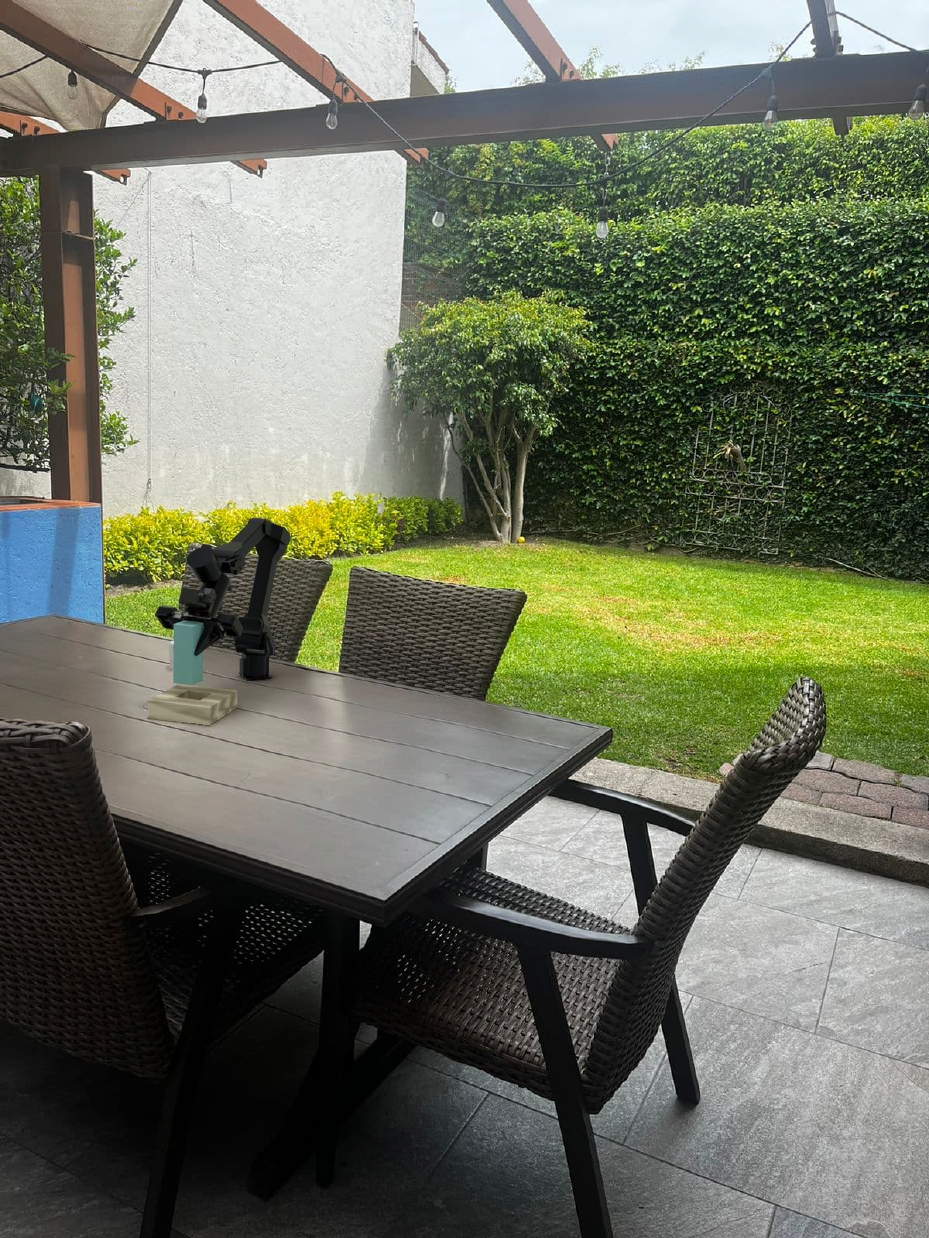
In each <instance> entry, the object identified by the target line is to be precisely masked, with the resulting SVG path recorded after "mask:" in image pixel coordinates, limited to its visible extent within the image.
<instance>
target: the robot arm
mask: <svg viewBox="0 0 929 1238" xmlns="http://www.w3.org/2000/svg"><path fill="white" fill-rule="evenodd" d="M290 542H291V533H290V532H289V531H288V529H287V528H286V527H285V526H281V525H279V524H276V523H274V522H272V521H271V520H270V519H268V518H262V517H251V518H249V519H248V520H247V524H245V526H244V527H243V528H242V529H241V530H240V531H239V532H238V533H236V535H234V537H233V538H232V539H231V540H230V541H228V542H226V543H222V544H218V545H217V546H216V547H212V546H211V544H206V543H205V544H203V543H202V544H201V546H200V547H199V548H195V549H194V550H192V551H191V552H190V553H188V554H187V557H186V563H187V565H188V567H189V568H190V570H191V572H192V574H193V575H194V577H195V578H196V580H197V581H198V582H200V583H201V584H200V586H199V588H198V589H197V588H196V589H195V588H186V587H182V588H180V589H181V590H180V592H179V597H178V603H179V604H182V605H184V607H183V609H184V611H185V612H187V614H185V613H183V612H181V611H179V609H178V608H177V607H176V606H170V605H169V606H168V605H159V606H158V607H157V608H156V610H155V613H154V616H155V618H156V619H157V620H158V622H159V623H160V625H161V626H162V628H163V629H166V630H170V631H174V624H176V623H179V622H182V621H184V620H185V621H193V622H201V623H203V633H202V635H201V637H200V639H199V641H198V644H197V646H196V649H195V652H194V655H195V656H198V655H199V654H200V653H202V652H203V653H204V651H206V650H207V649H208V648H209V647H210V646H212V645H213V644H215V643H216V642H218V641H219V640H224V639H225V638H226V635H227V637H229V638H233V641H234V644H235V645H234V646H235V652H236V654H237V653H238V654H239V653H240V654H241V658H239V667H238V668H239V672H238V675H239V674H240V675H241V676H240V675H239V676H240V677H242V676H243V677H242V678H244V679H245V678H246V679H245V680H247V679H248V680H247V681H252V680H251V679H256V680H259V679H258V678H266V679H272V678H271V677H273V675H271V674H270V656H274V655H275V653H276V647H277V644H276V642H275V640H274V638H273V637H272V635H271V633H272V632H271V629H272V627H271V625H270V622H269V619H268V612H269V607H270V602H271V596H272V591H273V586H274V581H275V576H276V573H277V564H278V562H280V560H281V559H282V558H283V556H285V554H286V553H287V550H288V547H289V546H288V545H289V544H290ZM253 549H255V551H256V554H257V556H258V557H257V563H256V569H255V573H254V579H253V582H252V583H253V584H252V588H251V594H250V599H249V602H248V603H249V604H248V609H247V611H246V613H245V614H244V615H243V616H240V617H238V616H237V614H235V613H227V612H222V611H223V608H224V607H223V605H222V603H223V601H224V598H225V596H226V594H227V592H232V591H233V586H232V584H231V580H230V578H229V577H228V575H230V576H238V575H239V574H241V572H242V571H243V569H244V567H245V566H246V560H245V559H246V557H247V556H248V554H249V553H250V552H251V551H252V550H253ZM218 612H219V613H218ZM225 634H226V635H225ZM173 651H174V646H173Z"/></svg>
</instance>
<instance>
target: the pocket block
mask: <svg viewBox="0 0 929 1238" xmlns="http://www.w3.org/2000/svg"><path fill="white" fill-rule="evenodd" d="M236 707H237V708H238V690H235V689H233V690H232V689H226V688H217V687H216V688H215V687H208V686H203V685H202V686H201V685H193V686H192V685H184V684H176V685H174V686H172V687H170V688H169V689H166V690H164V691H163V692H160V693H159V694H157V695H155V696H152V697H151V698H148V699H147V719H152V720H159V721H166V720H167V721H168V722H169V721H170V722H174V721H176V722H175V723H182V722H188V723H187V724H190V723H196V724H195V725H198V724H203V725H202V726H205V725H210V724H211V723H213V722H215V721H216V720H217V719H219V718H221V717H222V716H223V715H225V716H227V715H228V714H229V713H228V712H230V711H231V710H233V709H234V708H236ZM237 708H236V709H237ZM233 711H234V710H233ZM227 713H228V714H227ZM230 713H231V712H230ZM226 714H227V715H226ZM222 718H223V717H222ZM222 718H221V719H222ZM219 720H220V719H219ZM216 722H217V721H216ZM216 722H215V723H216ZM213 724H214V723H213ZM211 725H212V724H211ZM211 725H210V726H211Z"/></svg>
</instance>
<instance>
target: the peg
mask: <svg viewBox="0 0 929 1238" xmlns="http://www.w3.org/2000/svg"><path fill="white" fill-rule="evenodd" d="M203 630H204V626H203V623H201V622H193V621H185V620H184V621H182V622H179V623H176V624H174V630H173V640H174V658H173V670H172V671H173V675H172V676H173V677H172V678H173V679H172V680H173V681H172V682H173V684H176V685H178V684H184V685H192V686H193V685H194V686H196V684H198V683H200V682H202V681H204V680H203V678H204V651H203V652H202V653H200V654H199V655H198V656H195V655H194V652H195V649H196V646H197V644H198V641H199V639H200V637H201V635H202V633H203Z"/></svg>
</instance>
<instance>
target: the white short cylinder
mask: <svg viewBox="0 0 929 1238" xmlns="http://www.w3.org/2000/svg"><path fill="white" fill-rule="evenodd" d="M167 643H168V644H167V646H168V658H169V666H170V668H171V669H172V670H171V669H170V670H171V671H173V658H174V651H173V646H174V639H172V640H169V641H168V642H167Z"/></svg>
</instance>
